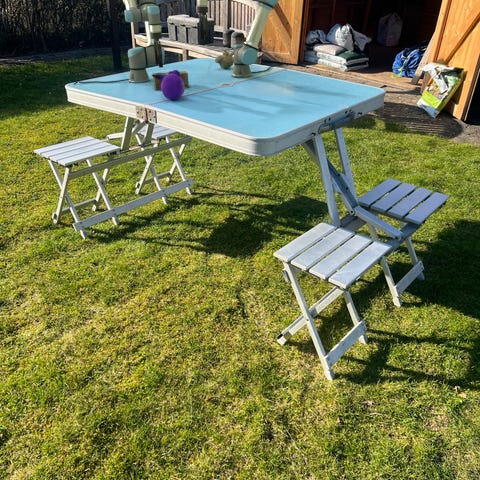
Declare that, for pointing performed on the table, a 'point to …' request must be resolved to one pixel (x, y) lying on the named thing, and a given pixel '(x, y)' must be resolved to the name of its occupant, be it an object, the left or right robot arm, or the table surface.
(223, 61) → the teapot
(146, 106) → the table surface
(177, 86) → the toy
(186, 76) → the box
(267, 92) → the table surface
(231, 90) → the table surface
